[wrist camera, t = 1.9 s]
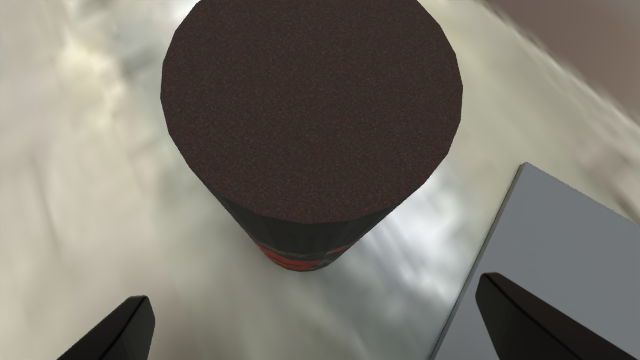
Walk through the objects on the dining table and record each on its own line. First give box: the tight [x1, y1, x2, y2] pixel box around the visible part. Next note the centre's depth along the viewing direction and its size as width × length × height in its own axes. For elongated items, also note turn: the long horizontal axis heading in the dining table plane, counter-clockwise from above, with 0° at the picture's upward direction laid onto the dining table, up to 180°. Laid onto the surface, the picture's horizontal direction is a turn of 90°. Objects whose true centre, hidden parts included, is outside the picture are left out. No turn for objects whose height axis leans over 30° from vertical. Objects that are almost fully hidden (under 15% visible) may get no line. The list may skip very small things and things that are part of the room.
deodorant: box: [160, 0, 463, 272], centre depth 14 cm, size 6×6×15 cm
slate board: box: [430, 162, 640, 360], centre depth 20 cm, size 16×16×1 cm
